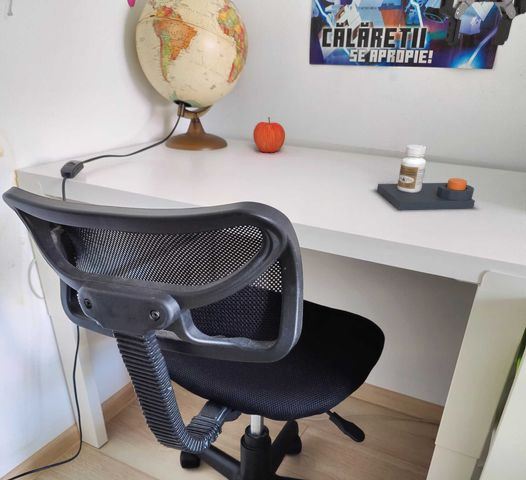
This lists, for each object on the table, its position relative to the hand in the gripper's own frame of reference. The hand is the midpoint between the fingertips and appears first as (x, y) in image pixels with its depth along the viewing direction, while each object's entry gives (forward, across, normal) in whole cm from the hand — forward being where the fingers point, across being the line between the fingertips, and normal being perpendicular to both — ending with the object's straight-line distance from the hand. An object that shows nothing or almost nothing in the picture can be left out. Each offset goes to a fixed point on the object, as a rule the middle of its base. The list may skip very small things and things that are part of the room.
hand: (475, 45), depth 85 cm
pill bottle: (+23, -10, -5) cm, 26 cm away
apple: (+25, -31, +36) cm, 54 cm away
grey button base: (+24, -7, -6) cm, 26 cm away
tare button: (+22, -3, -9) cm, 24 cm away
